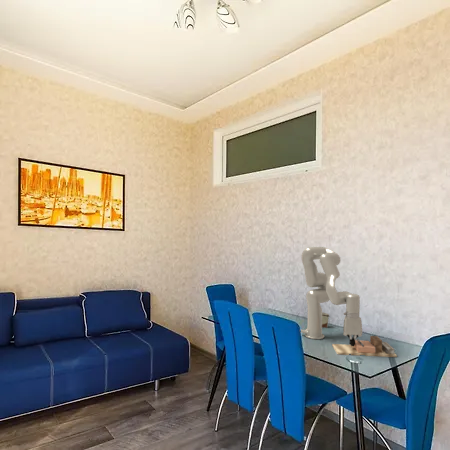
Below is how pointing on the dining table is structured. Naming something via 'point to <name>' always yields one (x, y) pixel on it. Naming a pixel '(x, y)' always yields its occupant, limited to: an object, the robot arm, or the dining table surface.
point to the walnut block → (376, 343)
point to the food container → (325, 320)
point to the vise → (348, 349)
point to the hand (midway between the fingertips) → (352, 345)
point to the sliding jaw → (364, 346)
